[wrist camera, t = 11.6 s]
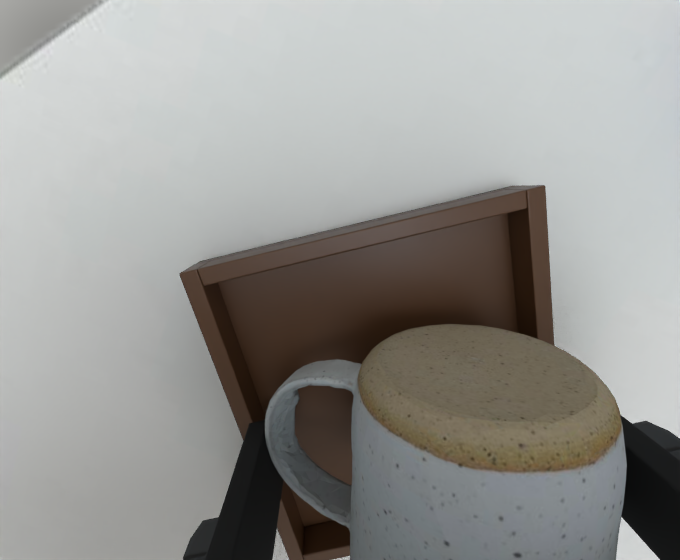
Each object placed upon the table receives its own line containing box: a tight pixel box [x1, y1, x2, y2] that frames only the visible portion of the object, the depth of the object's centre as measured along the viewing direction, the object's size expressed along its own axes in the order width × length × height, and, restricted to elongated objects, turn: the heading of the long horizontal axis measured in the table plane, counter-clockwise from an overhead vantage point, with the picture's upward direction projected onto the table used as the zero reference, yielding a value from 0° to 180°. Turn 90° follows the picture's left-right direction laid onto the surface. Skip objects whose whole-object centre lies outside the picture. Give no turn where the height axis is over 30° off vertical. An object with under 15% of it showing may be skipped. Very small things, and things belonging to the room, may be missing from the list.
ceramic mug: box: [265, 324, 627, 560], centre depth 10 cm, size 11×8×8 cm
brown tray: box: [180, 185, 554, 560], centre depth 15 cm, size 14×16×2 cm
